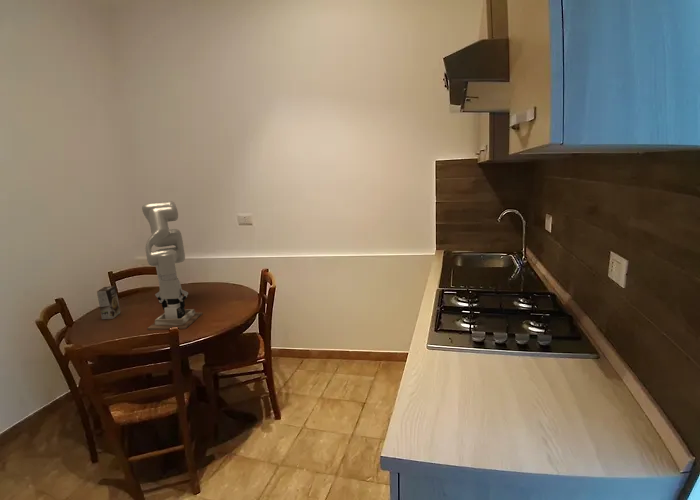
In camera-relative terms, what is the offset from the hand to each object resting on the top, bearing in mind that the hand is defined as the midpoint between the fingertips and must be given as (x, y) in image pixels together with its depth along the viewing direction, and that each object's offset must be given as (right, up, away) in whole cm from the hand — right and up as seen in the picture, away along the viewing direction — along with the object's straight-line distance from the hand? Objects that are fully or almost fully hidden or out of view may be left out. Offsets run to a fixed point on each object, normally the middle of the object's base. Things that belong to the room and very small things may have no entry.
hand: (174, 308), depth 225 cm
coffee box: (-41, -7, +17) cm, 45 cm away
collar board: (0, -7, +2) cm, 7 cm away
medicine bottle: (0, -6, +2) cm, 6 cm away
